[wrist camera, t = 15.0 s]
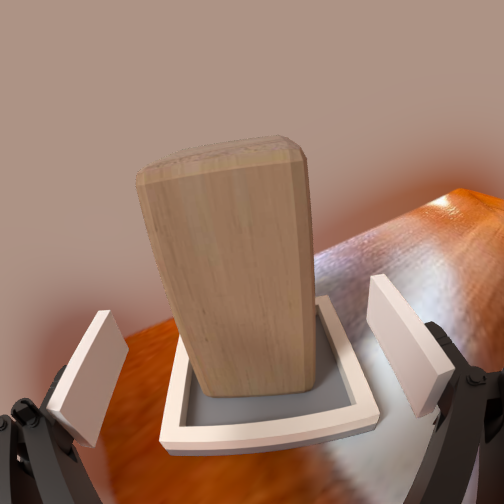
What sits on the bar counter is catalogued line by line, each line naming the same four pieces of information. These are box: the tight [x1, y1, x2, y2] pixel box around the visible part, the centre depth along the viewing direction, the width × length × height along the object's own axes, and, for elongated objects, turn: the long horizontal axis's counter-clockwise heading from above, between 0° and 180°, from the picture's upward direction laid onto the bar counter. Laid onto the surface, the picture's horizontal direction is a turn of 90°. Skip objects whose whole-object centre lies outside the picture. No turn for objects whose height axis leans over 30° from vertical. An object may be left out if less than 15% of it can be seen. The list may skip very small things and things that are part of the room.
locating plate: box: [159, 295, 380, 456], centre depth 26 cm, size 17×17×3 cm
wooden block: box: [136, 135, 316, 398], centre depth 23 cm, size 10×10×20 cm
